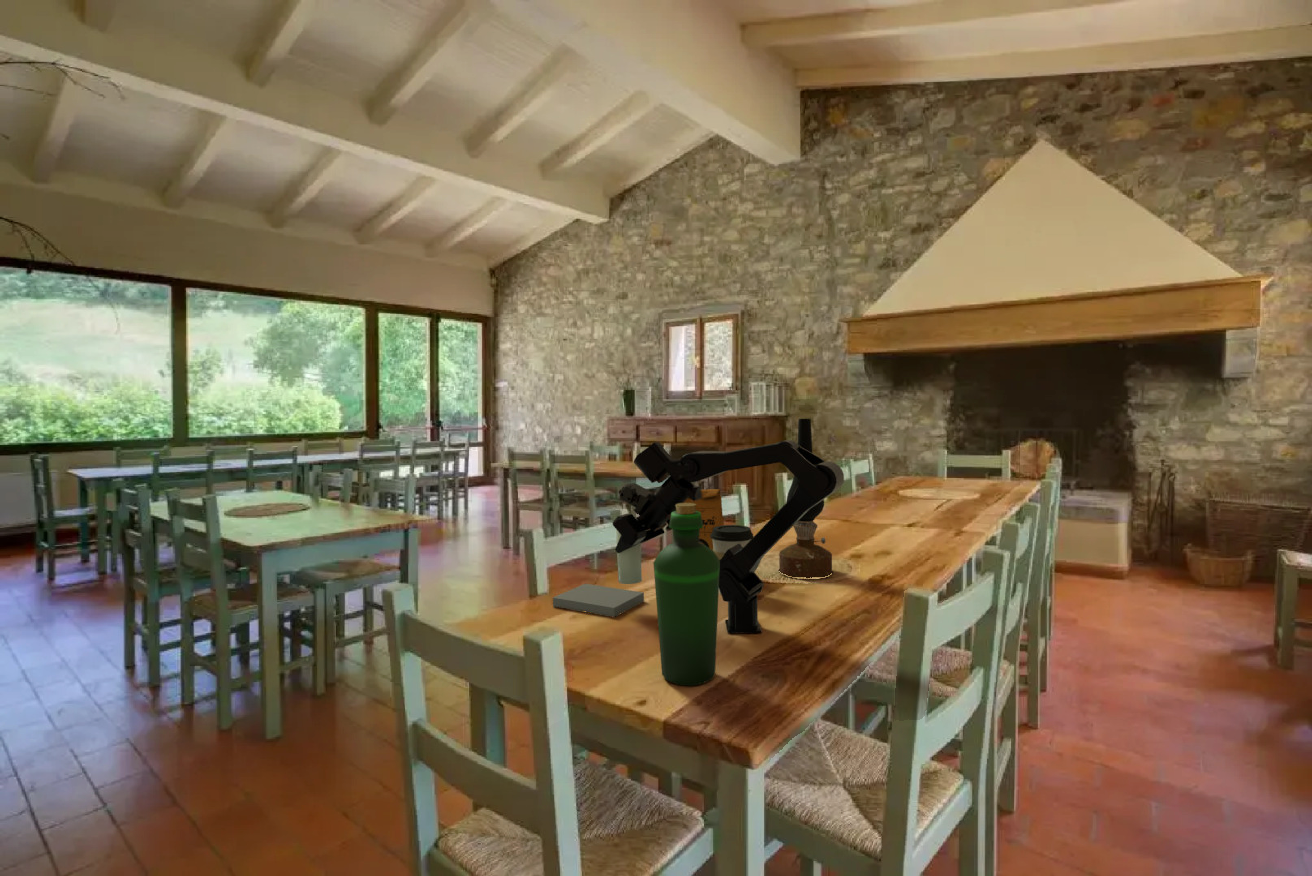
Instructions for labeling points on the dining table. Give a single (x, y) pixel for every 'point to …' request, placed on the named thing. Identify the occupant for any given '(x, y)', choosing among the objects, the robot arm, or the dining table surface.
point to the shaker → (629, 564)
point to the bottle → (687, 601)
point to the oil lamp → (805, 530)
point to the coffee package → (709, 514)
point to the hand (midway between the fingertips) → (623, 548)
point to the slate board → (598, 599)
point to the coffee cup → (729, 538)
